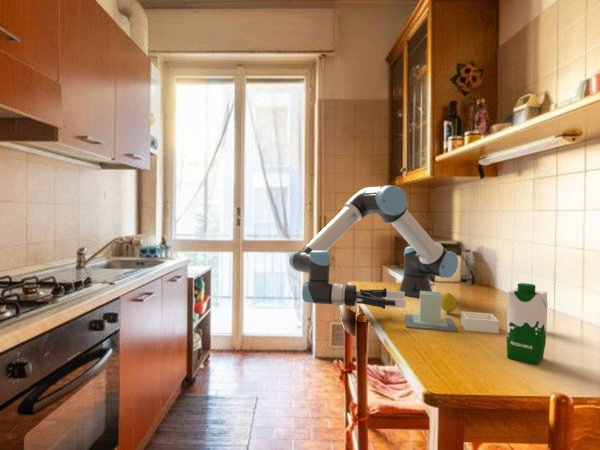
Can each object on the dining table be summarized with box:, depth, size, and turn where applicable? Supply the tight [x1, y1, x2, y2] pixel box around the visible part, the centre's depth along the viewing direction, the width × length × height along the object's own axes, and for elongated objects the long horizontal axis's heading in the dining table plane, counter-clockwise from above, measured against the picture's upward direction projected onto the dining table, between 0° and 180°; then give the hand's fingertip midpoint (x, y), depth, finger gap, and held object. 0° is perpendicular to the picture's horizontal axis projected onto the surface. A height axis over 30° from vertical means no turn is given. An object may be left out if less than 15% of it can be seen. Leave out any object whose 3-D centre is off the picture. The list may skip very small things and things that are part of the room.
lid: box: [411, 291, 448, 328], centre depth 138 cm, size 11×11×10 cm
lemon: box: [441, 292, 457, 314], centre depth 153 cm, size 6×6×8 cm
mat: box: [404, 313, 458, 333], centre depth 138 cm, size 16×16×1 cm
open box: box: [460, 310, 500, 334], centre depth 134 cm, size 10×10×4 cm
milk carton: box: [506, 282, 548, 366], centre depth 106 cm, size 9×9×20 cm
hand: (405, 299), depth 140 cm, fingers open, 13 cm apart
